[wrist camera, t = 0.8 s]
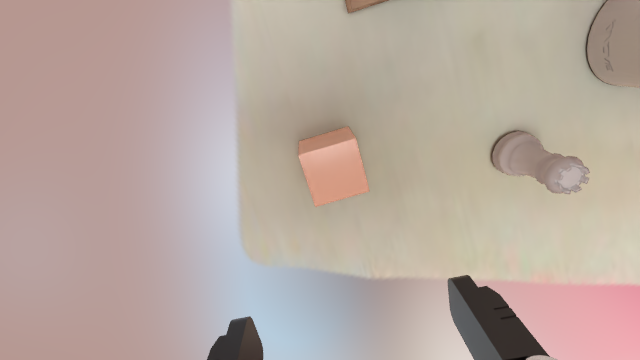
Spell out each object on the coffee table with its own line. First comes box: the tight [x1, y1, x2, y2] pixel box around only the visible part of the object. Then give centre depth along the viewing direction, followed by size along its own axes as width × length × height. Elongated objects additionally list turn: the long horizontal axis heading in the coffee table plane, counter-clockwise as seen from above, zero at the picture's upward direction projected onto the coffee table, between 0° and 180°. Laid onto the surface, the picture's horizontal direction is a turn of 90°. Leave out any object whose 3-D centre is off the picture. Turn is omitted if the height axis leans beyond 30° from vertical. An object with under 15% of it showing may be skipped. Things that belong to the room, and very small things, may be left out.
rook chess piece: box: [493, 131, 590, 194], centre depth 28 cm, size 4×4×8 cm
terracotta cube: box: [298, 127, 369, 207], centre depth 29 cm, size 5×5×5 cm
